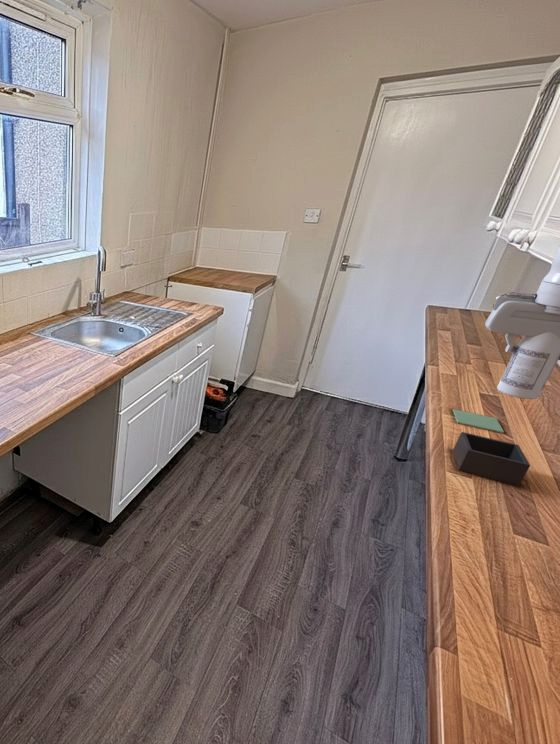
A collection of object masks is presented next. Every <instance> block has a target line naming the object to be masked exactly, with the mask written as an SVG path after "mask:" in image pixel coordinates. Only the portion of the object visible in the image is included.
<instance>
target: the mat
mask: <svg viewBox="0 0 560 744" xmlns="http://www.w3.org/2000/svg"><path fill="white" fill-rule="evenodd" d="M452 412H453V415H454V418H455V420H456V423H457V424H461V425H465V426H470V427H475V428H478V429H483V430H487V431H491V432H497V433H501V434H504V433H505V431H504V429H503V427H502V426H501V423H500V422H499V420H498V418H497V417H493V416H488V415H483V414H479V413H474V412H469V411H465V410H461V409H460V410H459V409H456V408H455V409H454V408H453V409H452Z"/></svg>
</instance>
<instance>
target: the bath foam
mask: <svg viewBox="0 0 560 744" xmlns="http://www.w3.org/2000/svg"><path fill="white" fill-rule="evenodd" d="M516 345H517V346H518V349H517V350H516V353H512V355H511V357H510V359H509V361H508V363H507V365H506V366H505V367H506V368H505V370H504V372H503V374H502V376H501V378H500V379H499V381H498V385H497V387H496V389H497V390H498V392H500V393H502V394H504V395H507V396H510V397H512V398H517V399H521V400H522V399H523V400H536V399H538V398H540V396H541V394H542V391H543V390H544V388H545V386H546V384H547V383H548V381H549V378H550V376H551V375H552V373H553V372H554V369H555V367H556V365H557V363H558V361H559V360H558V359H559V358H560V338H559V337H558V336H557V335H555V334H554V333H543V334H541V335H537V336H534V337H531V336H524V335H523V337H522V338H521V339H520V340H519V341H518V343H517V344H516Z"/></svg>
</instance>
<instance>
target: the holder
mask: <svg viewBox="0 0 560 744" xmlns="http://www.w3.org/2000/svg"><path fill="white" fill-rule="evenodd" d="M452 454H453V456H454V459H455V463H456V466H457V469H458V471H460V472H464V473H468V474H472V475H476V476H479V477H482V478H487V479H490V480H494V481H497V482H502V483H505V484H509V485H512V486H515V487H519V486H520V484H521V483H522V481H523V479H524V478H525V476H526V474H527V472H528V471H529V469H530V468H531V464H530V462H529V460H528V459H527V457H526V455H525V454H524V452H523V450H522V449H521V447H520V445H519V444H517V443H512V442H508V441H503V440H499V439H495V438H490V437H486V436H482V435H477V434H473V433H468V432H464V431H461V432H460V434H459V437H457V440H456V442H455V445H454V447H453V449H452Z"/></svg>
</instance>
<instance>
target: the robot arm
mask: <svg viewBox="0 0 560 744" xmlns="http://www.w3.org/2000/svg"><path fill="white" fill-rule="evenodd" d="M492 308H493V309H492V311H491V312H490V314H489V315H488V317H487V319H486V320H485V323H484V325H485V328H486V329H487V330H488V331H490V332H493V333H494V332H495V333H503V334H504V338H505V341H506V344H507V345H506V347H505V350H504V351H505V352H506V353H509V354H513V353H516V350H517V349H518V346H517V344H514V341H513V340H516V339H517V337H518V336H523V337H524V336H531V337H534V336H537V335H541V334H543V333H554V334H555V335H557V336H558V337H559V338H560V245H559V247H558V248H557V249H556V251H555V254H554V255H553V258H552V261H551V266H550V270H549V272H548V273H547V274H546V275H545V276H544V277H543V279H542V280H541V282H540V285H539V286H538V289H537V291H536V293H527V292H526V293H523V292H515V291H509V292H507V293H501V294H499V295H498V296H497V297H496V298H495V299H494V302H493V304H492ZM558 361H560V358H559V359H558Z"/></svg>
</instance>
